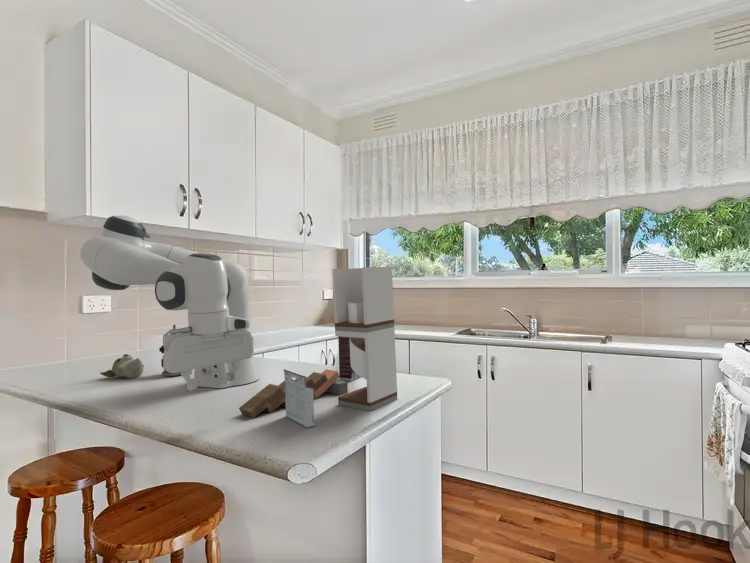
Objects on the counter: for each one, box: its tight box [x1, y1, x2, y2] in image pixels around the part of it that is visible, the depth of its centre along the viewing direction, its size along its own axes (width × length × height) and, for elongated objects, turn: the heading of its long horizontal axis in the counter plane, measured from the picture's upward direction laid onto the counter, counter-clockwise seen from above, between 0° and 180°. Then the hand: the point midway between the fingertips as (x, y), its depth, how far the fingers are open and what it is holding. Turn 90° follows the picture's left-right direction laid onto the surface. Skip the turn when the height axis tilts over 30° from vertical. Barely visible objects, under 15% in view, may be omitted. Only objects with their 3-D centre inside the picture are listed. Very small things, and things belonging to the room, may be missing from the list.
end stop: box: [324, 379, 349, 396], centre depth 127 cm, size 3×10×3 cm, turn 47°
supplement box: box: [337, 336, 362, 382], centre depth 142 cm, size 9×5×16 cm, turn 151°
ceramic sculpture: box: [99, 353, 145, 380], centre depth 158 cm, size 11×9×15 cm
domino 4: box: [307, 371, 328, 393], centre depth 121 cm, size 2×5×10 cm
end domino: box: [313, 369, 340, 400], centre depth 124 cm, size 2×5×10 cm
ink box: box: [283, 368, 316, 429], centre depth 102 cm, size 12×2×12 cm, turn 35°
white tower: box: [331, 266, 398, 412], centre depth 115 cm, size 11×11×35 cm
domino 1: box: [238, 383, 284, 419], centre depth 110 cm, size 2×5×10 cm
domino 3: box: [279, 376, 314, 408], centre depth 117 cm, size 2×5×10 cm
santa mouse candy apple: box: [158, 324, 182, 377], centre depth 160 cm, size 11×9×18 cm
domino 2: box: [262, 379, 286, 414], centre depth 114 cm, size 2×5×10 cm
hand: (212, 384), depth 101 cm, fingers open, 8 cm apart
